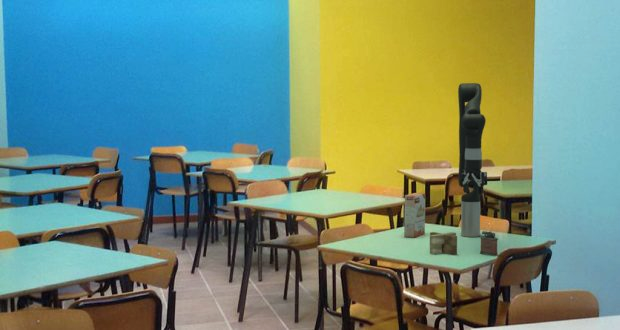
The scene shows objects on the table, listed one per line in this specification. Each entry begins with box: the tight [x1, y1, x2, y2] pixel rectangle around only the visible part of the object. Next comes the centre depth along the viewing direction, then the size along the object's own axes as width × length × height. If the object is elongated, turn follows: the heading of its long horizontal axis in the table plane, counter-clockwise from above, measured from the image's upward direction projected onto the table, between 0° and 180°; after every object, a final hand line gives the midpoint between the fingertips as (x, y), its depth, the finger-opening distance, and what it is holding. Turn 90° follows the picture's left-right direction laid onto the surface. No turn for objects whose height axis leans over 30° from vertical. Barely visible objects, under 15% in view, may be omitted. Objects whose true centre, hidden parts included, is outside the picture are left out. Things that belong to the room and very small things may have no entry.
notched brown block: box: [429, 231, 458, 256], centre depth 335 cm, size 14×2×8 cm, turn 38°
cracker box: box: [403, 192, 426, 239], centre depth 377 cm, size 14×6×21 cm, turn 150°
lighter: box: [479, 230, 499, 257], centre depth 329 cm, size 8×3×10 cm, turn 48°
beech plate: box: [429, 231, 457, 255], centre depth 335 cm, size 2×14×8 cm, turn 127°
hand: (473, 193), depth 345 cm, fingers open, 8 cm apart
